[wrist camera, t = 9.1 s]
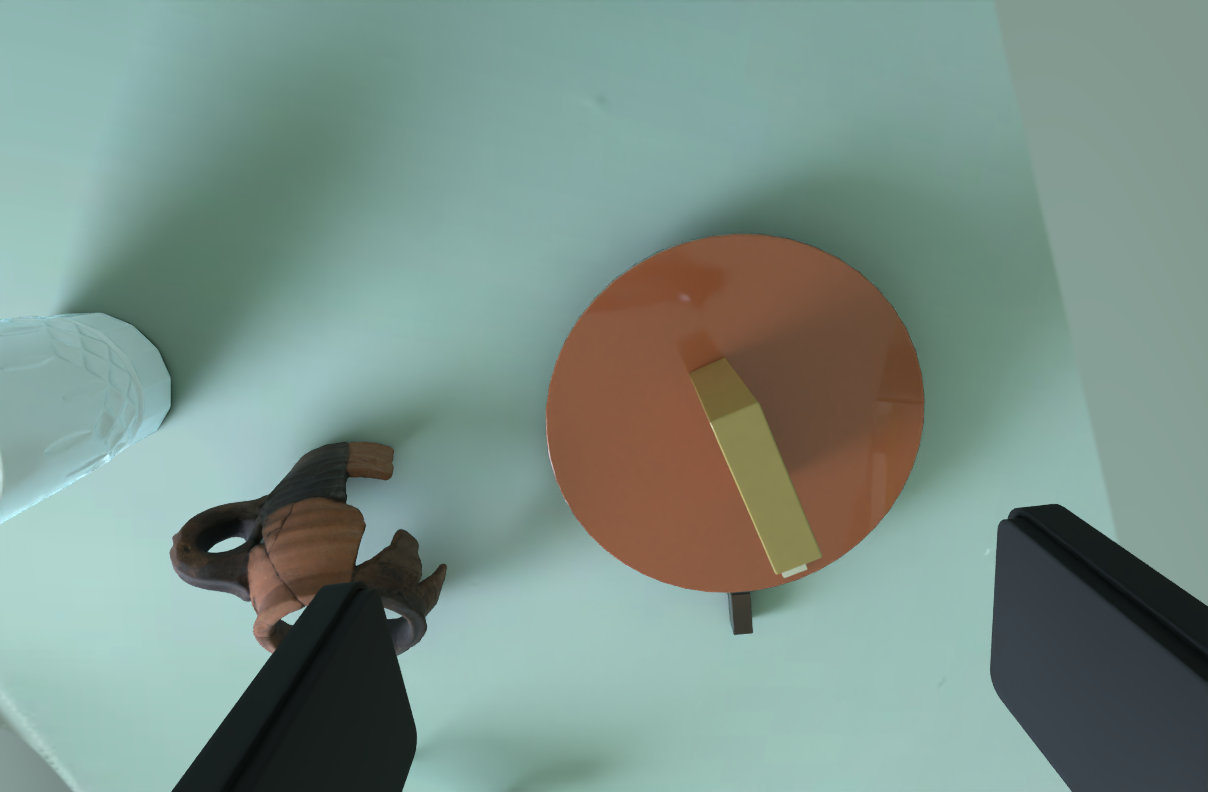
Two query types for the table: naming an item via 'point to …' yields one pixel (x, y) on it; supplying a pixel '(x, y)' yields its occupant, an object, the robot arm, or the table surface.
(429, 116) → the table surface
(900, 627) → the table surface
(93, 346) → the white cup
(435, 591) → the pottery mug
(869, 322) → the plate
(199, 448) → the table surface
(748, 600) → the dark grey rectangular block
